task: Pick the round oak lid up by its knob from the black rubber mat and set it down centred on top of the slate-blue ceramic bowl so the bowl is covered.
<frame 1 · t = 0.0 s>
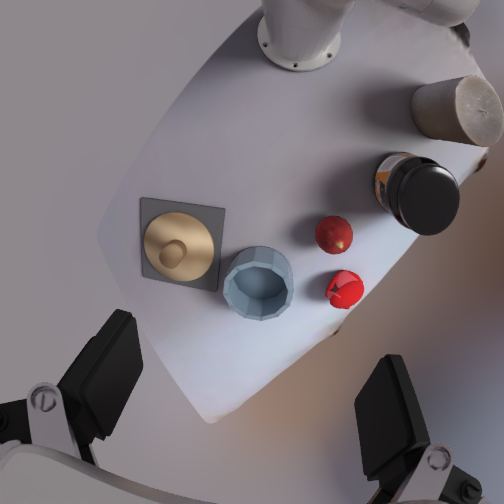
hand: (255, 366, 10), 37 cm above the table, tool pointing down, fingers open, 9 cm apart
pillar candle: (433, 111, 35), on the table
supplement container: (398, 182, 41), on the table
lid: (179, 246, 49), point 1 cm above the table, touching mat
mat: (180, 245, 49), on the table
bowl: (260, 274, 50), on the table
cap: (342, 282, 50), on the table
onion: (330, 226, 45), on the table
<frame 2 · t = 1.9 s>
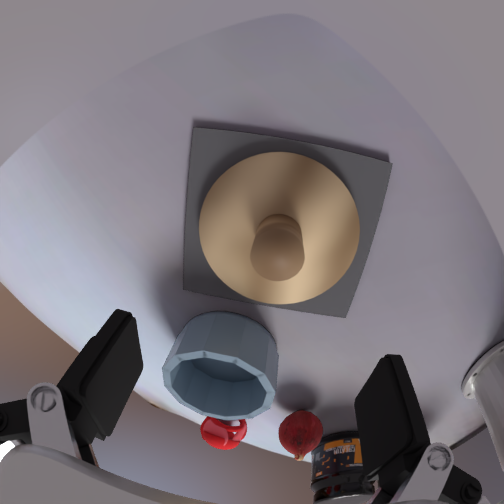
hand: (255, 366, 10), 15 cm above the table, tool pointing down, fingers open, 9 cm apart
supplement container: (341, 442, 38), on the table
lid: (279, 231, 23), point 1 cm above the table, touching mat
mat: (279, 228, 24), on the table
bowl: (227, 350, 30), on the table
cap: (227, 415, 37), on the table
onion: (301, 409, 34), on the table
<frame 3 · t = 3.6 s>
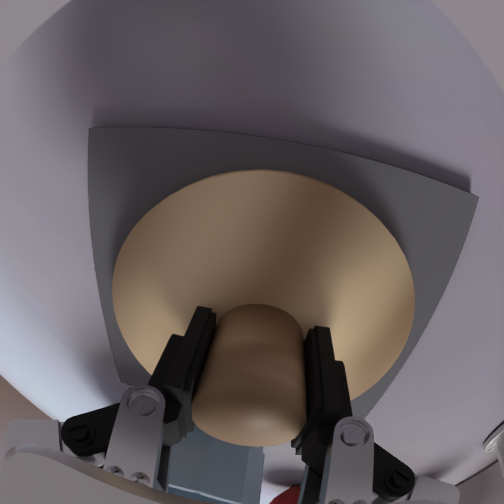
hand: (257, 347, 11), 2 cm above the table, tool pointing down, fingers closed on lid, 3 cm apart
lid: (260, 324, 12), point 1 cm above the table, touching gripper, mat
mat: (261, 315, 12), on the table
bowl: (196, 441, 19), on the table
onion: (295, 484, 23), on the table
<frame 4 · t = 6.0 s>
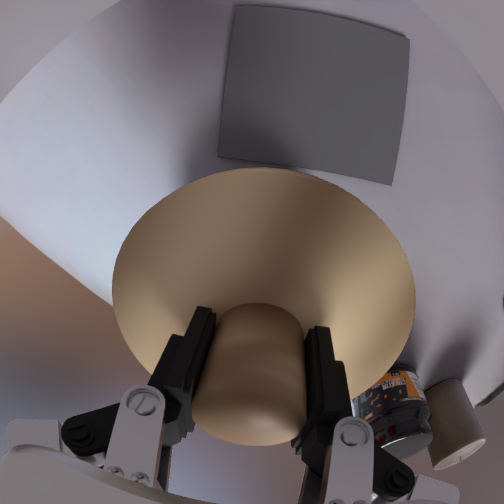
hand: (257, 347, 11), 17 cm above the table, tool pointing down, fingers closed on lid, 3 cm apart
pillar candle: (438, 394, 36), on the table
supplement container: (383, 383, 35), on the table
lid: (260, 323, 12), point 16 cm above the table, touching gripper
mat: (319, 87, 21), on the table
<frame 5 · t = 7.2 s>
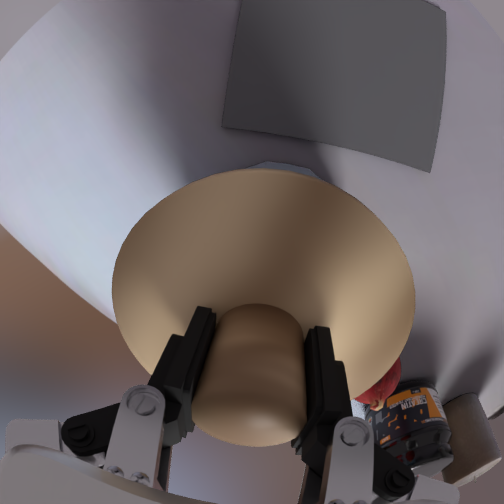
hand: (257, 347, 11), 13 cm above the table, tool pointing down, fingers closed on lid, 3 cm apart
pillar candle: (453, 409, 31), on the table
supplement container: (399, 400, 30), on the table
lid: (260, 324, 12), point 11 cm above the table, touching gripper
mat: (347, 51, 15), on the table
bowl: (275, 233, 22), on the table
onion: (363, 343, 26), on the table
when the fingers open (8 cm above the table, at t = 8.2 s): lid stays where it is, resting on bowl.
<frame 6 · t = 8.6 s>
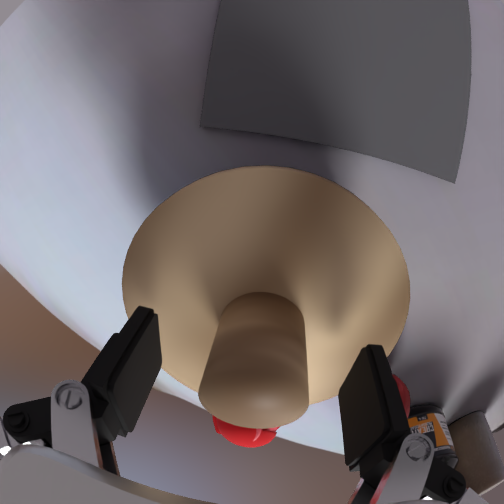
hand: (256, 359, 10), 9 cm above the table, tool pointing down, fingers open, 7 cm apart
pillar candle: (458, 427, 27), on the table
supplement container: (404, 423, 26), on the table
lid: (263, 313, 13), point 6 cm above the table, touching bowl
mat: (357, 33, 11), on the table
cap: (252, 393, 25), on the table
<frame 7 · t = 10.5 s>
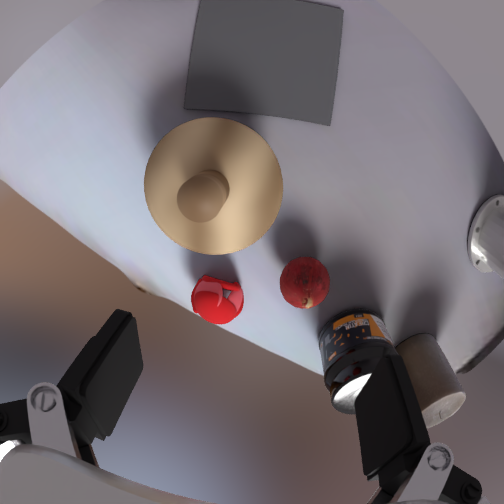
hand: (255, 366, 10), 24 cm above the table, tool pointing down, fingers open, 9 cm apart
pillar candle: (413, 352, 41), on the table
supplement container: (351, 332, 40), on the table
lid: (212, 186, 26), point 6 cm above the table, touching bowl
mat: (264, 52, 25), on the table
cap: (220, 288, 38), on the table
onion: (301, 266, 35), on the table
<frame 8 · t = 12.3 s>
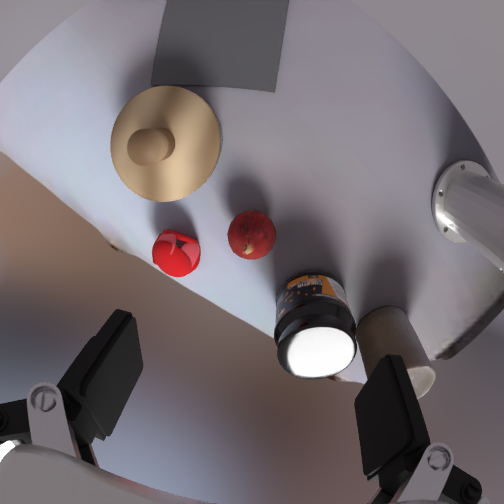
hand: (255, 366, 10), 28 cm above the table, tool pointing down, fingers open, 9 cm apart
pillar candle: (382, 327, 43), on the table
supplement container: (310, 297, 42), on the table
lid: (163, 143, 28), point 6 cm above the table, touching bowl
mat: (219, 34, 27), on the table
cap: (182, 245, 40), on the table
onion: (254, 224, 38), on the table
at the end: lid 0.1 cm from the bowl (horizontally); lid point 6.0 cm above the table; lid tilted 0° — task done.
